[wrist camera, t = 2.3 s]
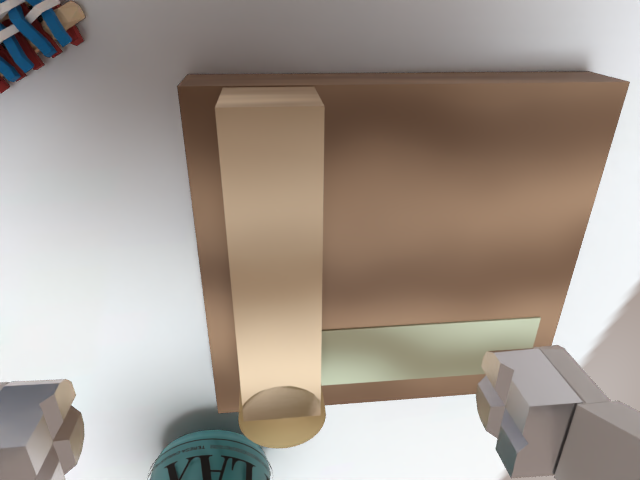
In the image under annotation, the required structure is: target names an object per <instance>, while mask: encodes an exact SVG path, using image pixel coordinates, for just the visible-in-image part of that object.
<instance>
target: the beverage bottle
mask: <svg viewBox="0 0 640 480" xmlns="http://www.w3.org/2000/svg"><path fill="white" fill-rule="evenodd" d="M156 460H157V461H156V462H154V463H155V464H154V463H153V464H154V467H153V469H152V474H151V472H150V474H151V478H150V480H270V476H271V472H270V469H269V465H270V464H269V465H268V463H269V462H268V461H267V459H266V456H265V454H264V452H263V450H262V449H261V447H260V446H259V445H258V444H256V443H254V442H252V441H251V440H249V439H248V438H247V437H246V436H244V435H242V434H239V433H235V432H231V431H225V430H203V431H197V432H193V433H190V434H187V435H184V436H182V437H179V438H178V439H176V440H174V441H173V442H171V443H170V444H169V445H168V446H166V447H165V448H164V450H163V451H162V452H161V454H160V455H159V457H158V458H157V459H156ZM153 464H152V465H153ZM151 467H152V466H151ZM270 467H271V466H270ZM150 469H151V468H150ZM271 469H272V468H271ZM150 474H149V476H150ZM272 474H273V472H272ZM149 476H148V477H149ZM147 479H148V478H147Z"/></svg>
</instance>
